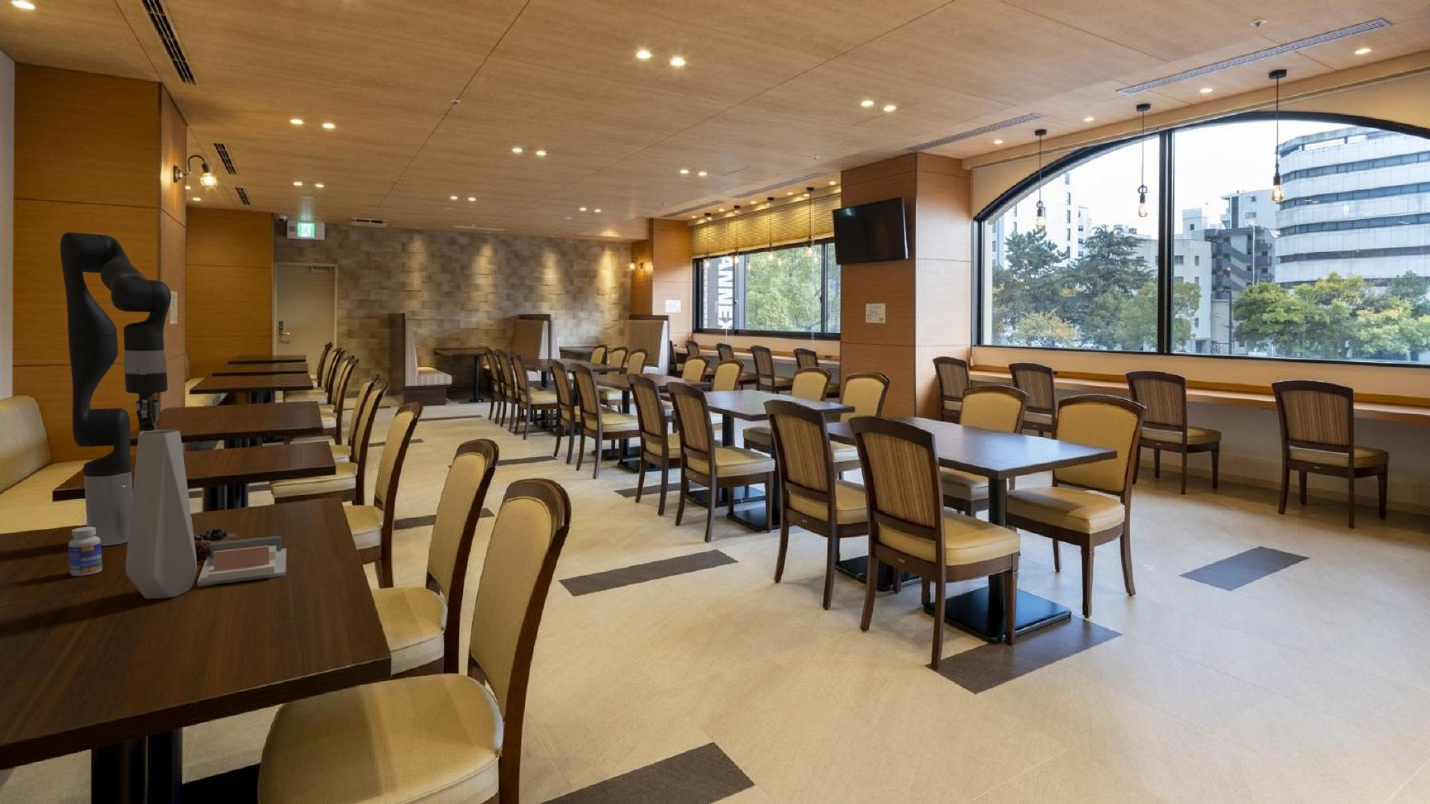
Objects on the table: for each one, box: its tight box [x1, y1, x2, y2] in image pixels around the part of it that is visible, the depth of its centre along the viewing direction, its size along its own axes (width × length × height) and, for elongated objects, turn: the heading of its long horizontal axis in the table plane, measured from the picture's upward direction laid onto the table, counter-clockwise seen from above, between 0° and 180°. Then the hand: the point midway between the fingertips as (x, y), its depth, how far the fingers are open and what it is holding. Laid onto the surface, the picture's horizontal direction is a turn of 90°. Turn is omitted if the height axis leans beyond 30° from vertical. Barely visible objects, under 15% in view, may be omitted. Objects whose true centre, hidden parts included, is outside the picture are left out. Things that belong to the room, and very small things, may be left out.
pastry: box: [194, 527, 242, 562], centre depth 182 cm, size 11×12×6 cm
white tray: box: [196, 535, 287, 587], centre depth 171 cm, size 20×16×4 cm
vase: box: [125, 429, 198, 600], centre depth 153 cm, size 12×12×33 cm
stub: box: [207, 545, 275, 582], centre depth 163 cm, size 5×12×5 cm, turn 119°
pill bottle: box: [68, 526, 103, 577], centre depth 166 cm, size 5×5×10 cm
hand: (150, 447), depth 171 cm, fingers closed
